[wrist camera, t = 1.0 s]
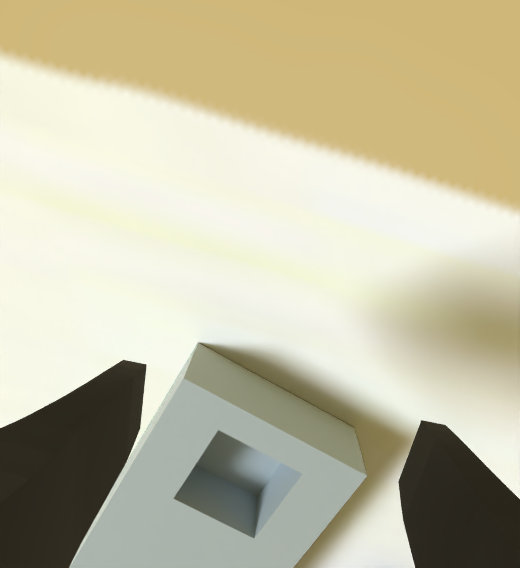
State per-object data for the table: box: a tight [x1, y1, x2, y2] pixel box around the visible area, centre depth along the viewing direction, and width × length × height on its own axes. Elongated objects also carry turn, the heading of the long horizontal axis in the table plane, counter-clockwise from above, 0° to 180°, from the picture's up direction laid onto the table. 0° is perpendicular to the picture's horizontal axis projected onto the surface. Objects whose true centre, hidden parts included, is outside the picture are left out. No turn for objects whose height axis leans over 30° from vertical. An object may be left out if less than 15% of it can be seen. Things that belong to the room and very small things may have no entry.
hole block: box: [69, 343, 367, 568], centre depth 23 cm, size 16×9×4 cm, turn 150°
